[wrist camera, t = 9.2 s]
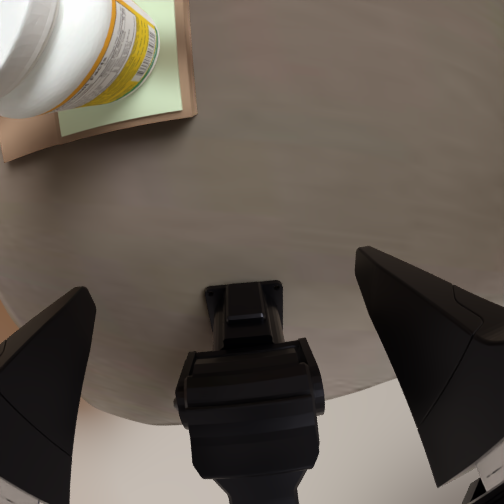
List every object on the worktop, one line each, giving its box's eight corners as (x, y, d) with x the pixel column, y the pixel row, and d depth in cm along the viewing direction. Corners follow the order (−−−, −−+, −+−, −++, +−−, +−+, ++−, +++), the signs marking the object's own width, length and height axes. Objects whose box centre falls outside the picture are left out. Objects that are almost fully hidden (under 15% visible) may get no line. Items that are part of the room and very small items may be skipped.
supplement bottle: (179, 68, 14) (93, 27, 4) (89, 124, 15) (-52, 184, 5) (137, -12, 11) (38, -99, 1) (51, 47, 12) (-89, 46, 2)
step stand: (197, 113, 18) (191, 117, 15) (14, 158, 18) (-9, 169, 15) (188, -17, 13) (180, -35, 10) (2, 50, 13) (-22, 50, 10)
